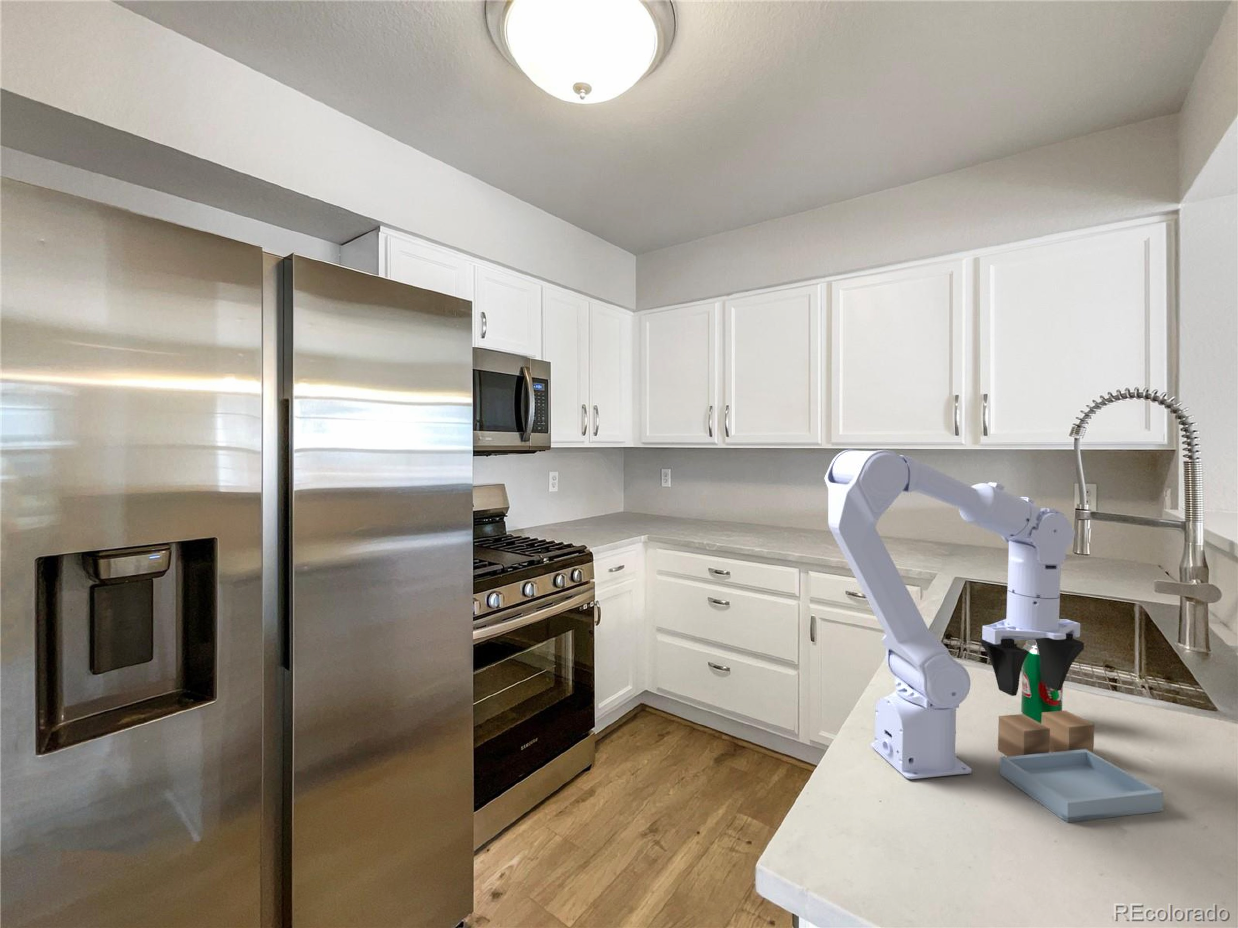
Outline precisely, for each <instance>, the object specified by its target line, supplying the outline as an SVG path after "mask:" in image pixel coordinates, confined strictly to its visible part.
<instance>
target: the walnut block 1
mask: <svg viewBox="0 0 1238 928" xmlns="http://www.w3.org/2000/svg"><path fill="white" fill-rule="evenodd" d="M997 730H998V734H997V751H998V752H999V753H1001V754H1003V755H1004V756H1005V757H1009V756H1020V755H1030V754H1040V753H1050V752H1049V748H1050V728H1048V727H1046V726H1044V725H1042V724H1041V723H1039V722H1037V721H1035V720H1033V719H1031V718H1030V717H1028V716H1026V715H1024V714H1022V713H1019V714H1009V715H1008V714H1006V715H999V716H998V729H997Z"/></svg>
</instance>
